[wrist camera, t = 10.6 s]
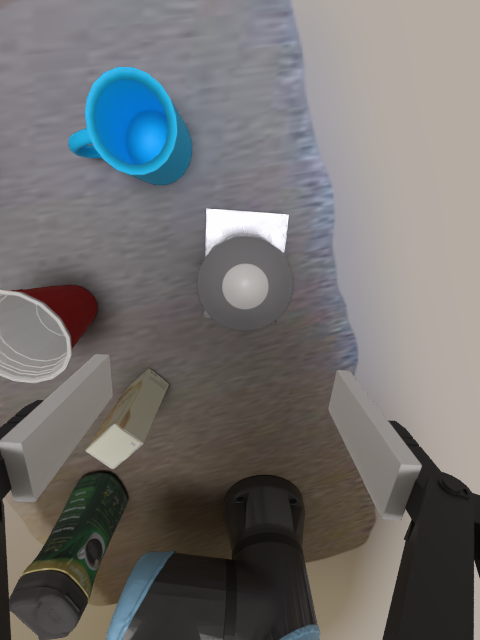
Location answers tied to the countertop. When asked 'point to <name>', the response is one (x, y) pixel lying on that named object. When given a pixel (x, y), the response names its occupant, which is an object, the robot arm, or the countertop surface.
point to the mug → (134, 127)
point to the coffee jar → (69, 559)
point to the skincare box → (129, 420)
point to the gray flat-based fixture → (244, 227)
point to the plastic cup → (41, 330)
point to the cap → (245, 282)
